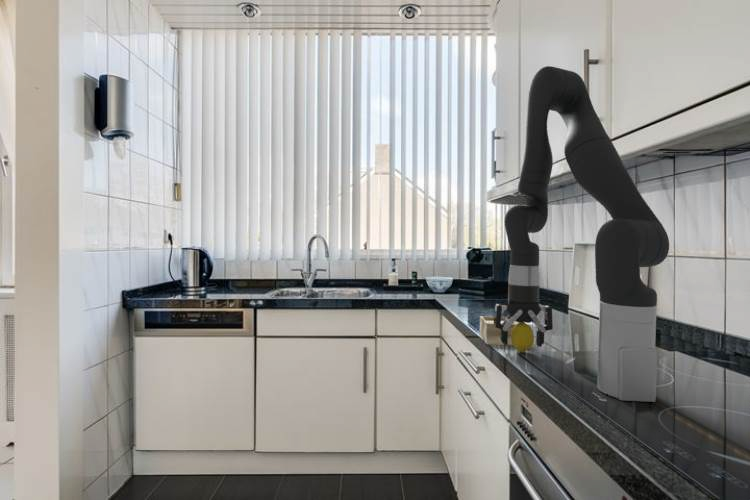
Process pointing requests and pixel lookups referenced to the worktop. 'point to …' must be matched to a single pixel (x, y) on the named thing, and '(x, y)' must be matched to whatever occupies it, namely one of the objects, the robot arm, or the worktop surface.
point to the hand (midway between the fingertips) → (522, 345)
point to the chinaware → (439, 283)
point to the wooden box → (493, 330)
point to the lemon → (522, 336)
